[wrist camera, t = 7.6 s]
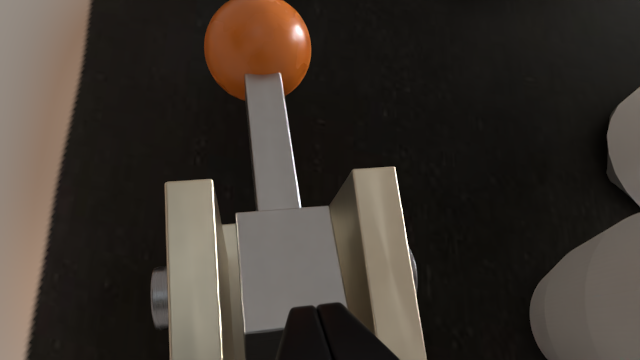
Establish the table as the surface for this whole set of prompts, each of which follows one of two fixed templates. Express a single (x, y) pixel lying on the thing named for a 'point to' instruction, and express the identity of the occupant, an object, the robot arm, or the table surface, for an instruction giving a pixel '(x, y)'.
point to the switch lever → (272, 172)
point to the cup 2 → (625, 146)
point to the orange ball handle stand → (223, 270)
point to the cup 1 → (592, 299)
